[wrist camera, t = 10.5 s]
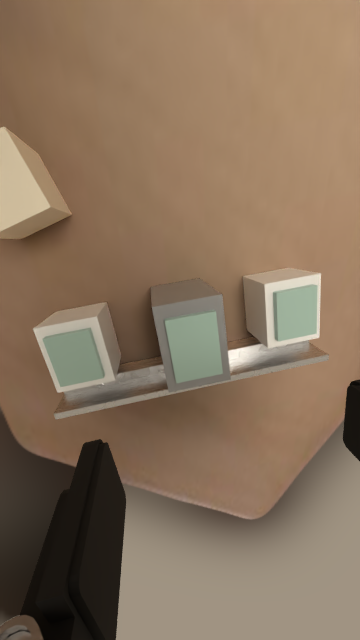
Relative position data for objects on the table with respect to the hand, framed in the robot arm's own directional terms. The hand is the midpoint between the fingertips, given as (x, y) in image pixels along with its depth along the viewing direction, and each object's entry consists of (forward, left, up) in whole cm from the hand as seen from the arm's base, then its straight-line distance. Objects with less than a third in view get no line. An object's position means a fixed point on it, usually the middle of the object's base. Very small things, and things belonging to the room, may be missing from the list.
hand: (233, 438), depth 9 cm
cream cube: (-13, -11, -17) cm, 24 cm away
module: (0, 0, -17) cm, 17 cm away
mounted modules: (0, 0, -17) cm, 17 cm away
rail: (+5, 0, -17) cm, 18 cm away
